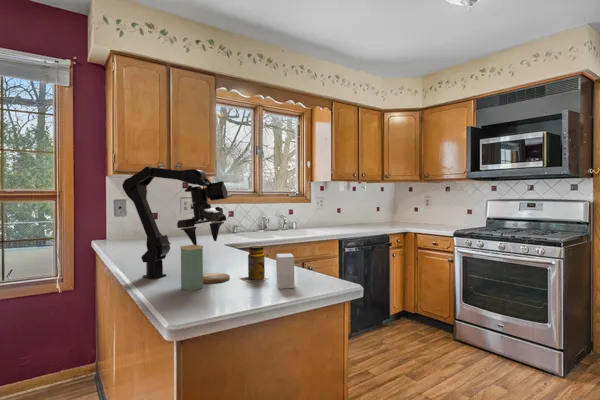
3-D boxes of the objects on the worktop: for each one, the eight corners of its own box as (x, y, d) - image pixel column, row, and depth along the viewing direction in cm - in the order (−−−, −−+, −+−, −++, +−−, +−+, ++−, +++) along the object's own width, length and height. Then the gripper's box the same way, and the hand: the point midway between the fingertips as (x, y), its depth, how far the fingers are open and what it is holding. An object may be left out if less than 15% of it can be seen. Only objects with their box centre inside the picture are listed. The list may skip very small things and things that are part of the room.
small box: (294, 288, 119) (294, 256, 119) (277, 289, 118) (277, 257, 118) (292, 282, 127) (292, 253, 127) (276, 283, 126) (276, 253, 126)
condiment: (269, 279, 132) (268, 246, 132) (248, 282, 128) (247, 248, 128) (259, 275, 138) (259, 244, 138) (239, 278, 134) (239, 246, 134)
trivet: (186, 280, 132) (186, 277, 132) (214, 274, 142) (214, 271, 142) (208, 285, 124) (208, 282, 124) (237, 278, 134) (236, 275, 134)
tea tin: (180, 288, 120) (180, 246, 120) (194, 285, 124) (193, 244, 124) (190, 291, 116) (189, 247, 116) (203, 287, 121) (203, 245, 120)
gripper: (191, 202, 124) (198, 247, 124) (232, 198, 139) (238, 238, 139) (173, 205, 131) (179, 248, 131) (214, 200, 146) (219, 239, 146)
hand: (205, 243), depth 136 cm, fingers open, 9 cm apart
